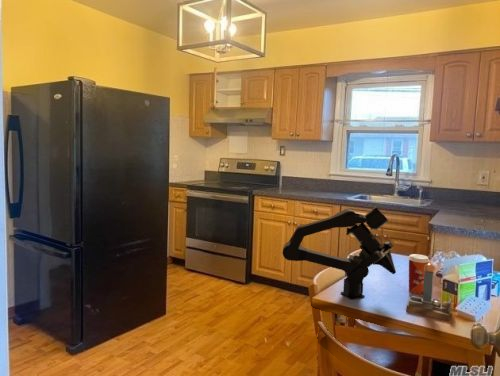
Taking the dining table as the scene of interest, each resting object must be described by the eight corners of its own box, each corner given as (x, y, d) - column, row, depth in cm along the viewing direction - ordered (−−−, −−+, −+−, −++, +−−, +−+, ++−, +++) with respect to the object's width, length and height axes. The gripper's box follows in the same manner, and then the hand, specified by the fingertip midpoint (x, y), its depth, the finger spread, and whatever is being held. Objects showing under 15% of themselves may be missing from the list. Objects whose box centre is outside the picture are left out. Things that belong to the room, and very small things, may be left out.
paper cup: (417, 296, 145) (419, 260, 143) (401, 289, 152) (403, 254, 150) (432, 293, 148) (434, 258, 146) (416, 286, 155) (418, 252, 153)
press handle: (421, 305, 130) (424, 264, 129) (422, 302, 133) (425, 261, 131) (439, 309, 127) (443, 267, 126) (440, 306, 130) (444, 265, 128)
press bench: (406, 311, 131) (407, 295, 130) (410, 303, 137) (411, 288, 137) (449, 321, 124) (450, 304, 123) (451, 312, 130) (452, 296, 130)
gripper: (357, 244, 152) (384, 276, 147) (340, 256, 136) (369, 293, 132) (379, 228, 146) (407, 261, 142) (364, 239, 131) (395, 277, 127)
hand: (394, 273), depth 136 cm, fingers closed
